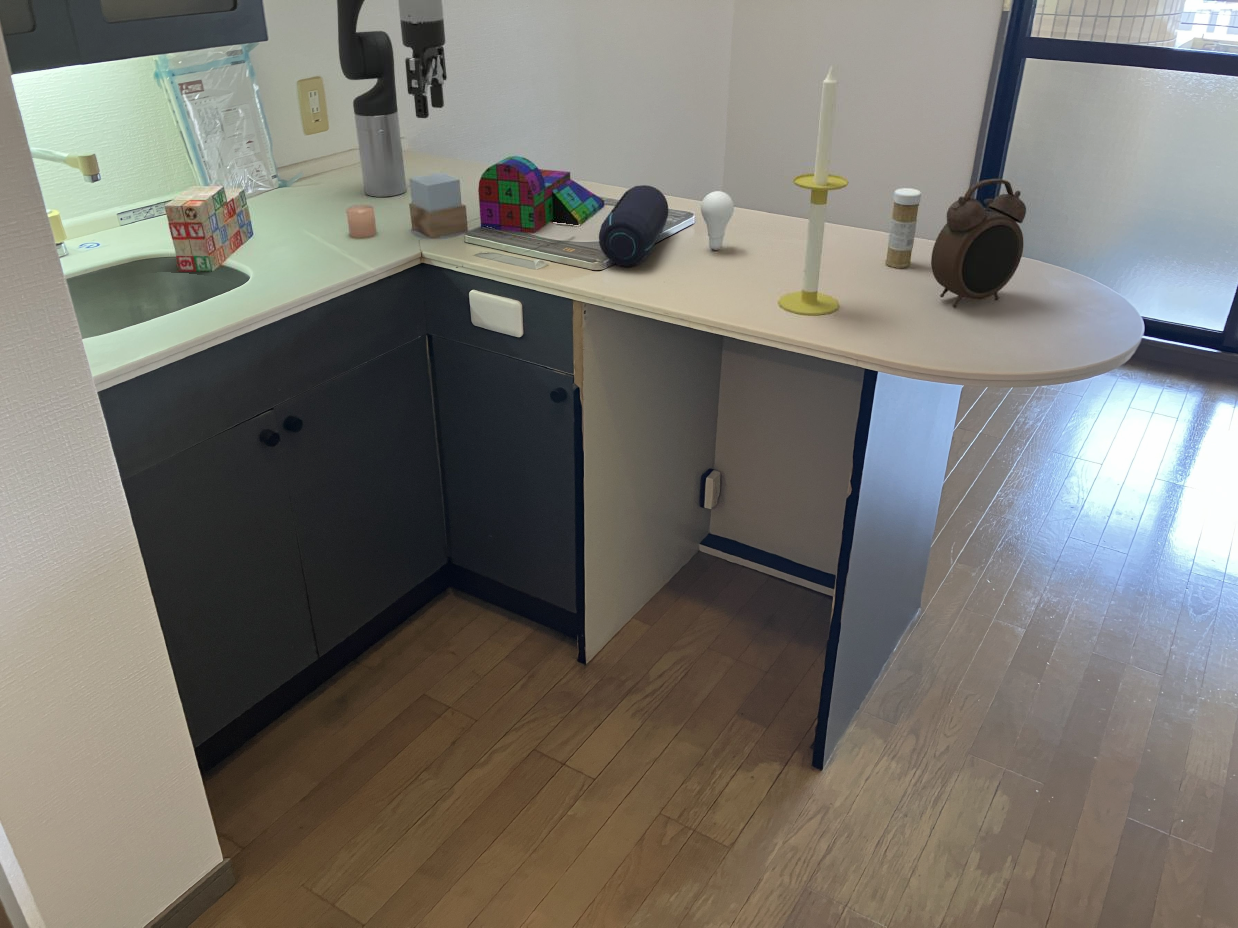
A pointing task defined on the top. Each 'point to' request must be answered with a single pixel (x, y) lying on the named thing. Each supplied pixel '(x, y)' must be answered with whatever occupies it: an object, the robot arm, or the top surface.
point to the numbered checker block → (532, 197)
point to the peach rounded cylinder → (361, 221)
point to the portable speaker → (633, 225)
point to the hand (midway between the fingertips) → (430, 112)
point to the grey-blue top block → (435, 192)
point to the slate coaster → (437, 237)
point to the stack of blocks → (208, 226)
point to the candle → (817, 212)
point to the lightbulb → (717, 216)
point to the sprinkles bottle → (903, 227)
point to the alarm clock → (979, 244)
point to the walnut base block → (439, 221)
